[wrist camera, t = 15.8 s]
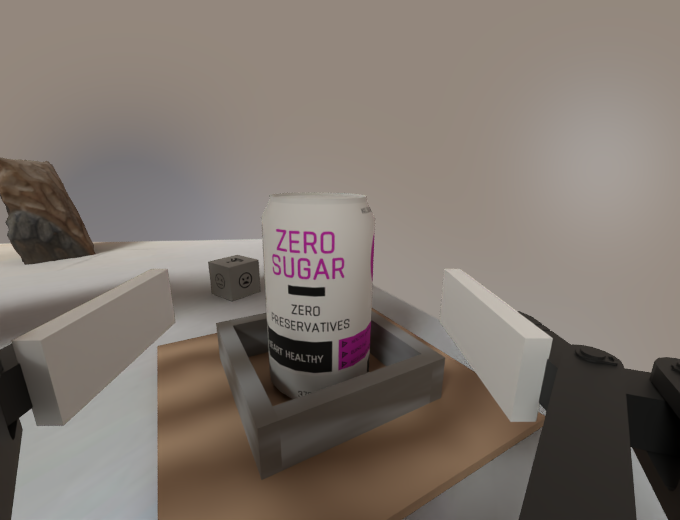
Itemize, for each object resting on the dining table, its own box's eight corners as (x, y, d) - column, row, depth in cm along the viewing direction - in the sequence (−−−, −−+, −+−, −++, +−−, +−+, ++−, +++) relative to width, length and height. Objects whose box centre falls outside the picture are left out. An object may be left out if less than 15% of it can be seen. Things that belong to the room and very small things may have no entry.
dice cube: (260, 291, 48) (258, 259, 47) (232, 301, 44) (229, 267, 43) (239, 284, 51) (237, 254, 49) (211, 294, 47) (208, 261, 46)
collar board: (159, 359, 31) (152, 313, 30) (361, 311, 43) (362, 276, 42) (164, 691, 11) (142, 596, 10) (542, 434, 23) (555, 374, 21)
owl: (16, 266, 60) (-14, 156, 55) (7, 256, 67) (-20, 158, 62) (97, 254, 69) (77, 159, 64) (81, 246, 77) (62, 160, 72)
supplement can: (347, 343, 32) (350, 192, 28) (385, 396, 24) (396, 198, 20) (265, 358, 29) (256, 192, 25) (278, 422, 22) (268, 200, 18)
